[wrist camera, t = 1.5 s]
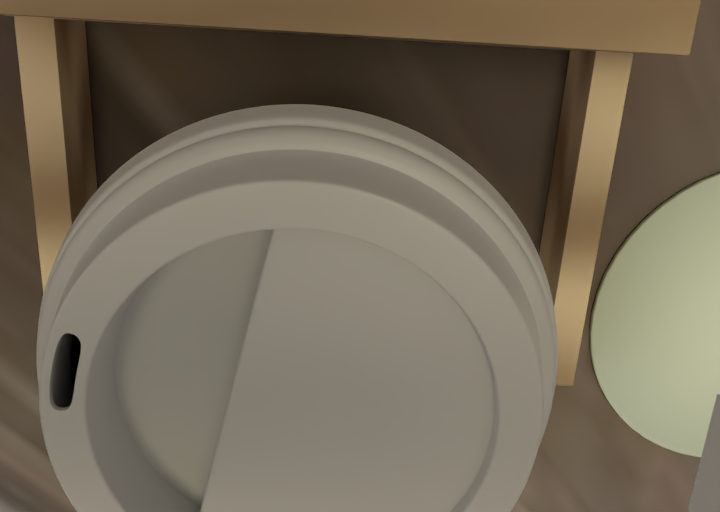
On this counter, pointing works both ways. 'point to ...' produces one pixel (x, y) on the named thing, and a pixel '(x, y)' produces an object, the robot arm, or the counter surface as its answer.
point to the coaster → (664, 321)
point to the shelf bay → (379, 21)
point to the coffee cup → (296, 326)
